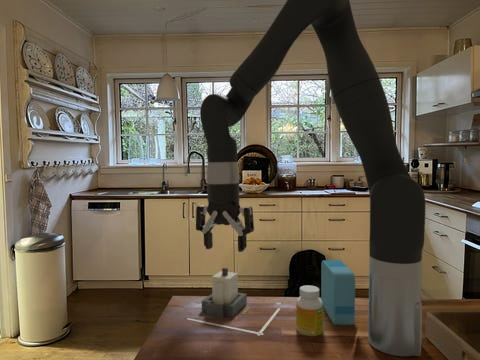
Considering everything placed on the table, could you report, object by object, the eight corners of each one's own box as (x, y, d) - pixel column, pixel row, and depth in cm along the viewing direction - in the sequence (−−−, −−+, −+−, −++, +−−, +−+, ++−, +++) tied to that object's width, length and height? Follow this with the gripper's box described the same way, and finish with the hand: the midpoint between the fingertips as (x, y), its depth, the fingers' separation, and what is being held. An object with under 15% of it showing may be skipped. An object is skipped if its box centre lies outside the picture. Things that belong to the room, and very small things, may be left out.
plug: (237, 305, 85) (237, 267, 84) (227, 314, 80) (227, 273, 79) (221, 302, 86) (220, 264, 86) (210, 311, 81) (210, 271, 81)
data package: (354, 329, 74) (355, 274, 74) (333, 329, 74) (334, 274, 74) (339, 306, 86) (339, 258, 86) (321, 306, 86) (321, 258, 86)
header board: (282, 313, 82) (282, 308, 82) (261, 341, 70) (261, 336, 70) (215, 301, 90) (215, 297, 90) (185, 324, 77) (185, 320, 77)
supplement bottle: (321, 343, 69) (321, 294, 68) (293, 338, 71) (293, 291, 70) (324, 330, 74) (324, 285, 73) (298, 326, 76) (299, 282, 75)
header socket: (253, 305, 85) (253, 295, 85) (237, 321, 76) (237, 310, 76) (217, 299, 89) (217, 289, 89) (198, 313, 80) (198, 302, 80)
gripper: (257, 180, 83) (258, 248, 83) (204, 180, 89) (206, 244, 89) (244, 182, 76) (246, 256, 77) (188, 182, 82) (190, 251, 82)
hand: (224, 249), depth 83 cm, fingers open, 8 cm apart
